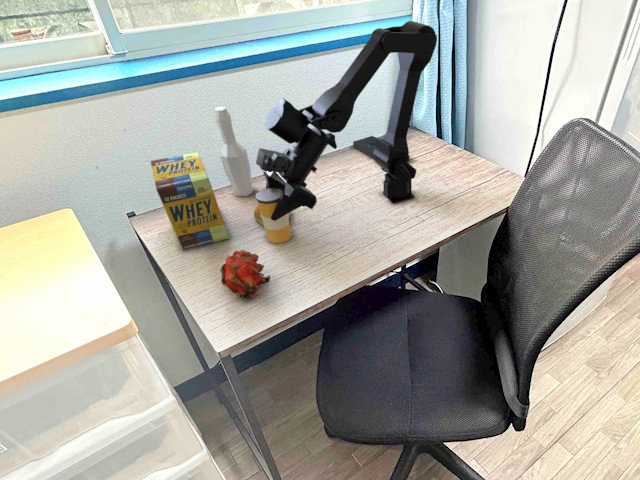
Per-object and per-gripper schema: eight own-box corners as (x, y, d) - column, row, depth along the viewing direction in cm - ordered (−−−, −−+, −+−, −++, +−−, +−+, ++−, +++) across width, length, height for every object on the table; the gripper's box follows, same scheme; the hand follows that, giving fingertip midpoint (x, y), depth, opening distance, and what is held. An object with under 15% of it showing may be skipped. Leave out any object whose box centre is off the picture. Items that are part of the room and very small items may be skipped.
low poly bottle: (239, 185, 120) (215, 103, 105) (260, 187, 119) (238, 104, 104) (228, 196, 115) (201, 112, 100) (249, 198, 114) (225, 114, 99)
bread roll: (267, 232, 103) (263, 217, 100) (250, 217, 108) (246, 202, 105) (297, 219, 106) (294, 205, 104) (279, 205, 112) (276, 191, 109)
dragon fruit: (246, 274, 93) (261, 314, 87) (206, 268, 87) (220, 310, 81) (263, 245, 90) (280, 284, 83) (223, 235, 84) (238, 277, 77)
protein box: (183, 251, 97) (155, 189, 87) (174, 219, 107) (149, 160, 97) (229, 238, 101) (209, 177, 90) (217, 208, 111) (197, 150, 100)
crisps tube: (292, 228, 104) (283, 186, 96) (291, 242, 99) (282, 199, 92) (268, 230, 103) (256, 189, 96) (266, 244, 99) (254, 202, 91)
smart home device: (372, 134, 140) (411, 155, 128) (373, 140, 141) (411, 161, 130) (351, 141, 137) (388, 163, 125) (352, 146, 138) (388, 168, 126)
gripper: (258, 120, 93) (222, 181, 96) (292, 150, 81) (250, 218, 84) (299, 146, 101) (264, 202, 104) (334, 177, 90) (295, 238, 93)
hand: (267, 213), depth 96 cm, fingers closed on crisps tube, 6 cm apart
